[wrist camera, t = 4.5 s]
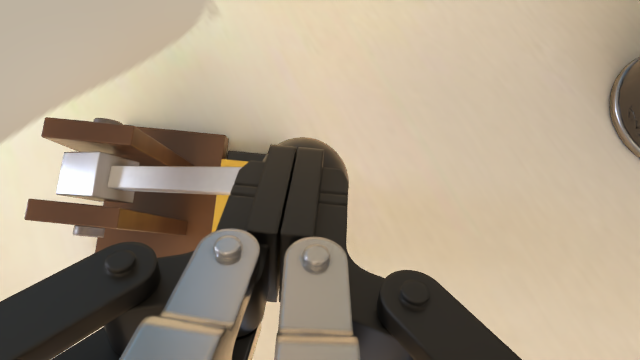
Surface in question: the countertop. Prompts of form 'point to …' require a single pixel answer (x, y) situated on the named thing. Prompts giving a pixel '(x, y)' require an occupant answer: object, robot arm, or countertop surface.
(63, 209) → the brown lever base bracket
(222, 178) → the ball-knob lever
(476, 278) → the countertop surface
